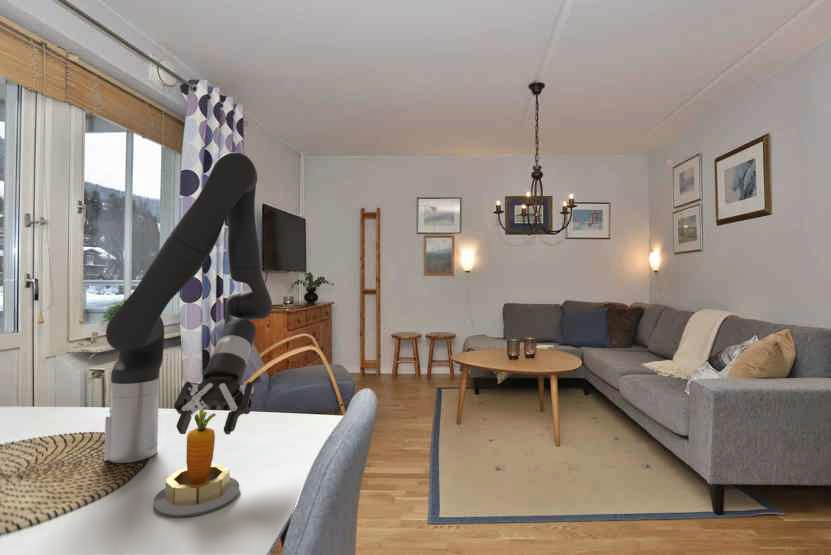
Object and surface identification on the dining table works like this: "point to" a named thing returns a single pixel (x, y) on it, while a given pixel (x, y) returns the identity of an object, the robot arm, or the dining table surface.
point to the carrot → (200, 449)
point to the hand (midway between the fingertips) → (204, 432)
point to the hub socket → (196, 493)
